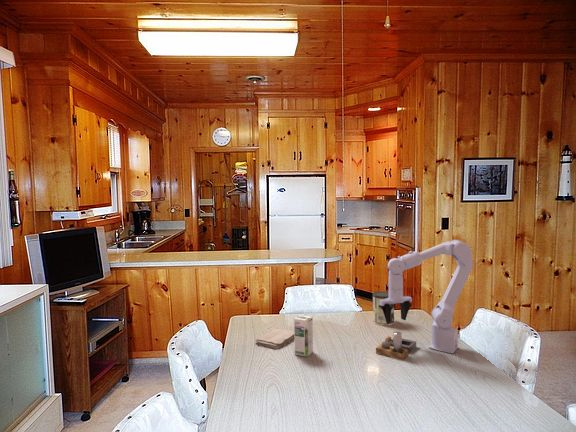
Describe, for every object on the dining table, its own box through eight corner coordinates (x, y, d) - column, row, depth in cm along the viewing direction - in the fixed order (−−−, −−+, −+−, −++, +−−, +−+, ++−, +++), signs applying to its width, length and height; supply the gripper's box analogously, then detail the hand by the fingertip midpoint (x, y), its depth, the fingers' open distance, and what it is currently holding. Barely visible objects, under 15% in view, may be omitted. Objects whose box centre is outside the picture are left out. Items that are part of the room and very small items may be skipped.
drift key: (399, 345, 158) (399, 339, 158) (396, 347, 156) (396, 341, 156) (388, 342, 161) (388, 336, 161) (385, 345, 159) (385, 338, 158)
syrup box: (294, 354, 150) (293, 318, 150) (300, 349, 156) (300, 314, 155) (307, 357, 148) (306, 320, 147) (313, 351, 153) (313, 316, 152)
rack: (408, 355, 148) (408, 345, 148) (403, 360, 144) (403, 349, 144) (381, 349, 154) (381, 339, 154) (375, 353, 151) (375, 343, 150)
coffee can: (391, 318, 192) (391, 291, 192) (396, 325, 182) (396, 296, 181) (370, 319, 193) (370, 291, 192) (375, 325, 182) (374, 296, 182)
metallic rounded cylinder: (401, 354, 149) (401, 332, 148) (401, 358, 146) (401, 334, 145) (393, 353, 150) (393, 331, 149) (393, 356, 147) (393, 333, 146)
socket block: (416, 346, 156) (416, 341, 156) (409, 353, 150) (409, 347, 150) (395, 341, 162) (395, 336, 162) (387, 348, 156) (387, 342, 155)
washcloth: (254, 345, 162) (253, 338, 161) (277, 332, 177) (276, 325, 177) (277, 351, 156) (277, 343, 155) (299, 336, 171) (299, 330, 171)
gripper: (386, 292, 150) (386, 326, 151) (416, 288, 156) (416, 321, 156) (376, 288, 157) (376, 320, 158) (405, 284, 162) (405, 316, 163)
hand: (395, 320), depth 157 cm, fingers open, 7 cm apart
